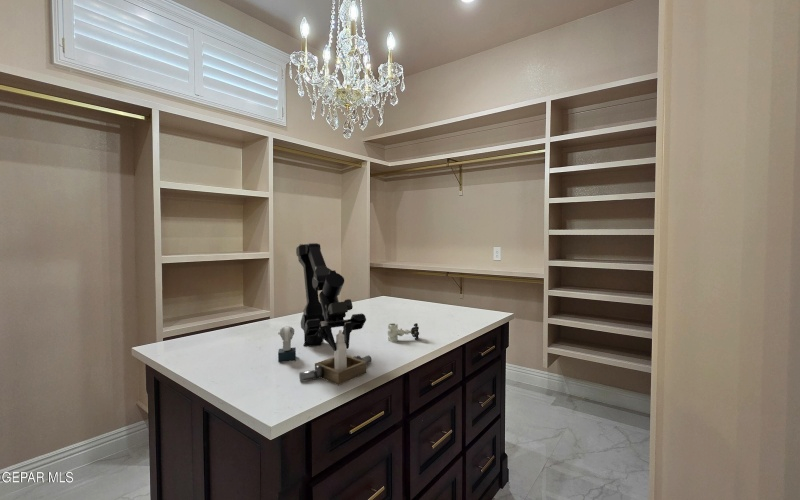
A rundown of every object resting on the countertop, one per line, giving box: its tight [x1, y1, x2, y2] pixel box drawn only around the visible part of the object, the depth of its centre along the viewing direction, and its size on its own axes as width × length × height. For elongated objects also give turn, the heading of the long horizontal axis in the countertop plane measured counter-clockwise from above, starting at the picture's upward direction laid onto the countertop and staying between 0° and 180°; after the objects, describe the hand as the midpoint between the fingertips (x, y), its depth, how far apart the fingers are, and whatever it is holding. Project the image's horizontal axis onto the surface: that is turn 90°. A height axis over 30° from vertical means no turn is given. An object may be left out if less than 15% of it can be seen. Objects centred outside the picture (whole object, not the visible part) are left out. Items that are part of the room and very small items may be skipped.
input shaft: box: [353, 354, 373, 365], centre depth 112 cm, size 6×4×4 cm, turn 140°
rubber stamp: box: [277, 325, 297, 363], centre depth 118 cm, size 6×8×11 cm
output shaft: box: [298, 365, 323, 382], centre depth 102 cm, size 6×4×4 cm, turn 114°
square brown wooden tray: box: [314, 354, 368, 386], centre depth 106 cm, size 11×11×4 cm
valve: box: [387, 322, 420, 343], centre depth 139 cm, size 7×7×12 cm
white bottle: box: [333, 329, 348, 371], centre depth 105 cm, size 4×6×12 cm
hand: (341, 349), depth 104 cm, fingers closed on white bottle, 3 cm apart
